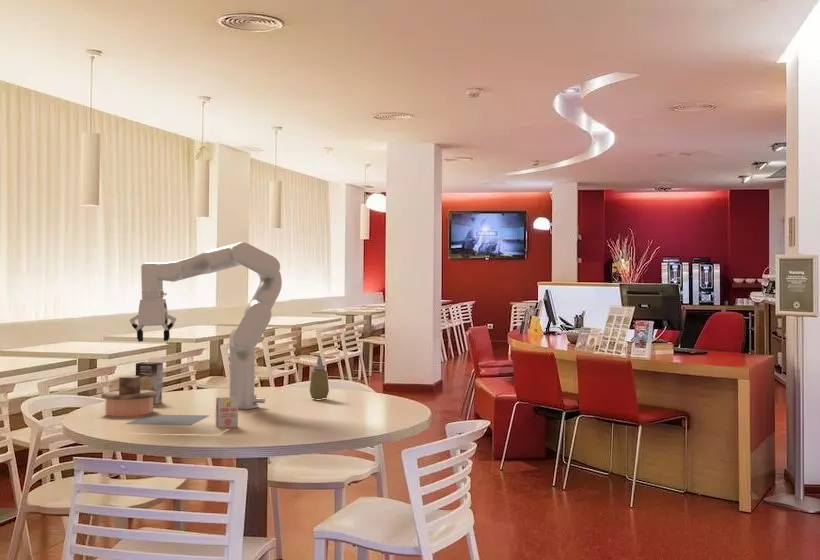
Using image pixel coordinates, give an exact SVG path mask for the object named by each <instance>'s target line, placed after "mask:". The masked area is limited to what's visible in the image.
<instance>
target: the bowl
mask: <svg viewBox="0 0 820 560" xmlns="http://www.w3.org/2000/svg"><path fill="white" fill-rule="evenodd" d="M104 401H105V405H104V413H105V416H106V417H108V416H111V417H112V416H113V417H114V416H115V417H131V416H143V415H149V414H152V413H154V404H153V397H151V398H144V399H129V400H115V399H105V398H104Z"/></svg>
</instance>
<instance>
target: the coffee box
mask: <svg viewBox="0 0 820 560" xmlns="http://www.w3.org/2000/svg"><path fill="white" fill-rule="evenodd" d="M163 369H164V364H163V362H155V361H154V362H151V361H150V362H149V361H142V362H137V363H135V376H140V390H150V391H156V392H157V396H155V397H153V405H157V403H158V404H160V403H162V402H163V378H164V377H163V376H164V375H163V373H164V372H163V371H164V370H163Z"/></svg>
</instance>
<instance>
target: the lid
mask: <svg viewBox="0 0 820 560" xmlns="http://www.w3.org/2000/svg"><path fill="white" fill-rule="evenodd" d="M118 379H119V381H118V390H113V391H107V392H106V391H105V392H103V393H101V398H102V399H104V400H105V399H115V400H129V399H144V398H151V397H155V396H157V392H156V391H150V390H140V376H136V375H123V376H120V377H118Z"/></svg>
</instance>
